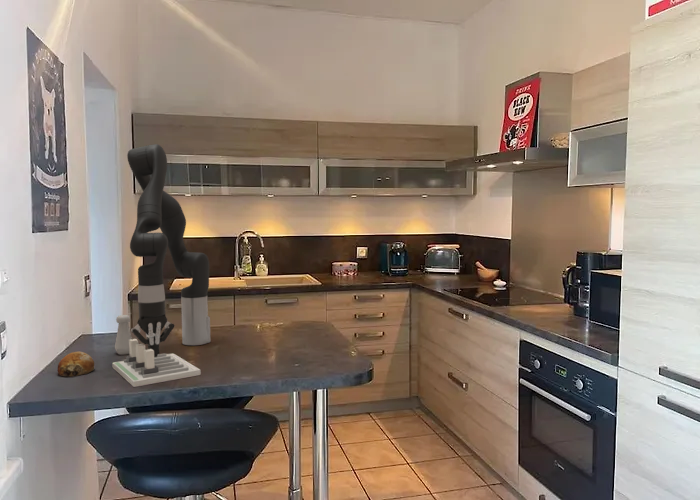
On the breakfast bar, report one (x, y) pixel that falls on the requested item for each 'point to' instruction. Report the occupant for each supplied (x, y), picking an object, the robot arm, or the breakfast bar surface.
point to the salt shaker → (123, 335)
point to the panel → (167, 370)
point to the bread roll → (75, 364)
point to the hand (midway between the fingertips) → (153, 356)
